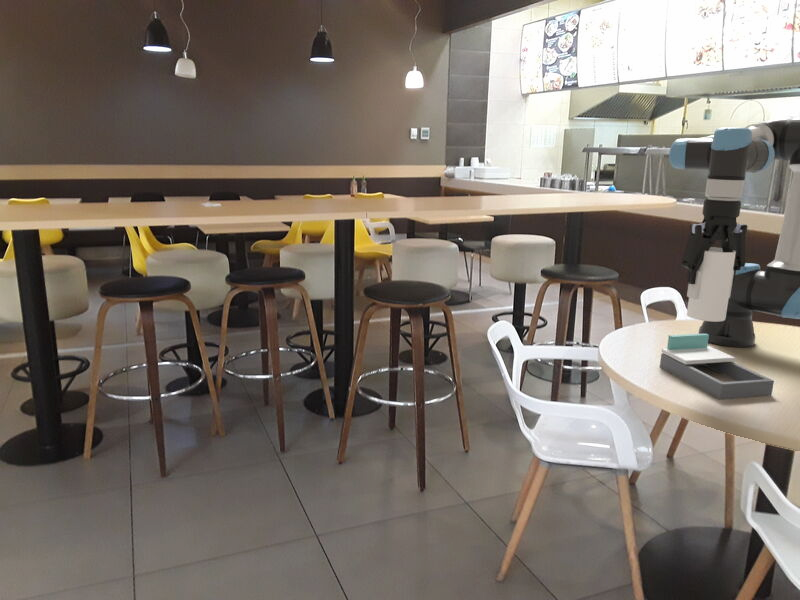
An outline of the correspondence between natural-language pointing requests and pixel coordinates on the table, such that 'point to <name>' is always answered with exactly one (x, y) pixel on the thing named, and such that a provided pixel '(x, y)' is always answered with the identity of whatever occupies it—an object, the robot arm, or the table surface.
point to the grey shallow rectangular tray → (744, 385)
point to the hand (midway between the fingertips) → (708, 297)
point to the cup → (713, 286)
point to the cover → (694, 350)
